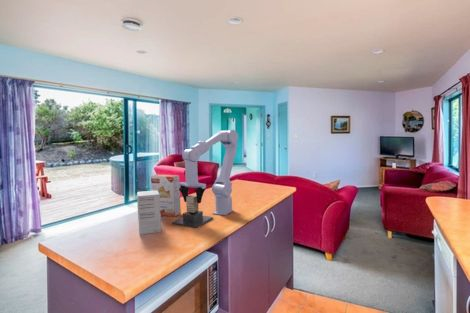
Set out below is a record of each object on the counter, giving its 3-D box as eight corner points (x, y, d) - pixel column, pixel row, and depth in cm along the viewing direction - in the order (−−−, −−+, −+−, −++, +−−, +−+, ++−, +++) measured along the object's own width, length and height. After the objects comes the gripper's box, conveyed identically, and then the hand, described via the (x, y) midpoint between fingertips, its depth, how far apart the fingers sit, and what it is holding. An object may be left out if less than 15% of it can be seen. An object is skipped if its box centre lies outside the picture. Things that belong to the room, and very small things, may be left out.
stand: (190, 215, 137) (189, 205, 137) (213, 219, 131) (212, 208, 130) (172, 224, 125) (171, 213, 124) (196, 228, 118) (196, 216, 118)
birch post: (191, 209, 130) (191, 194, 129) (198, 210, 128) (198, 195, 127) (186, 211, 126) (186, 196, 126) (193, 212, 124) (193, 197, 124)
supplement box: (138, 228, 120) (136, 191, 119) (159, 225, 124) (158, 189, 122) (139, 235, 112) (136, 196, 110) (161, 232, 115) (159, 193, 113)
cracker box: (152, 214, 140) (150, 175, 138) (159, 211, 146) (157, 174, 144) (174, 217, 135) (173, 176, 133) (181, 213, 141) (179, 174, 139)
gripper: (174, 174, 126) (175, 202, 127) (199, 176, 119) (200, 205, 120) (183, 172, 132) (184, 199, 133) (207, 174, 125) (208, 202, 126)
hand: (192, 202), depth 127 cm, fingers open, 7 cm apart
